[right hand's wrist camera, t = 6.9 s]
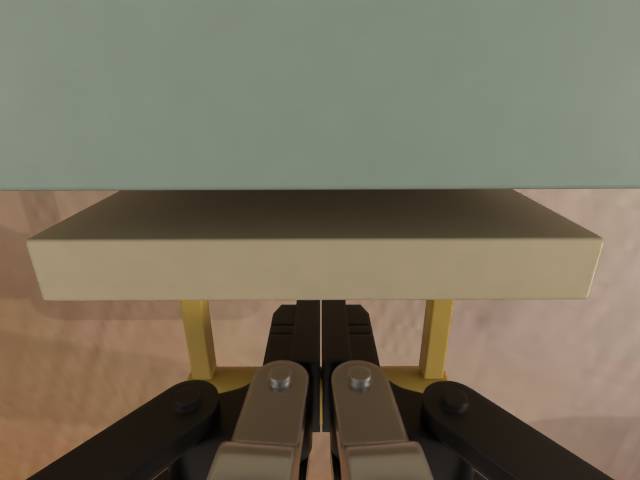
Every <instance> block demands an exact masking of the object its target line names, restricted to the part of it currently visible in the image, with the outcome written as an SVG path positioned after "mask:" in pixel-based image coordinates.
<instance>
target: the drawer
mask: <svg viewBox="0 0 640 480" xmlns="http://www.w3.org/2000/svg"><path fill="white" fill-rule="evenodd" d="M603 243H604V239H603V238H602V237H600V236H598V235H596V234H595V233H593V232H591V231H589V230H587V229H585V228H583V227H582V226H580V225H578V224H576V223H574V222H572V221H571V220H569V219H567V218H565V217H563V216H561V215H559V214H558V213H556V212H554V211H552V210H550V209H548V208H546V207H545V206H543V205H541V204H539V203H537V202H535V201H533V200H532V199H530V198H528V197H526V196H524V195H522V194H520V193H519V192H517V191H515V190H513V189H349V190H121V191H119V192H117V193H115V194H113V195H111V196H109V197H107V198H105V199H104V200H102V201H100V202H98V203H96V204H94V205H92V206H90V207H88V208H86V209H85V210H83V211H81V212H79V213H77V214H75V215H73V216H71V217H69V218H67V219H66V220H64V221H62V222H60V223H58V224H56V225H54V226H52V227H50V228H48V229H47V230H45V231H43V232H41V233H39V234H37V235H35V236H33V237H31V238H29V239H27V240H26V246H27V249H28V253H29V256H30V259H31V262H32V265H33V269H34V272H35V275H36V278H37V281H38V285H39V288H40V291H41V294H42V297H43V299H44V300H45V301H138V300H180V303H181V309H182V316H183V322H184V328H185V334H186V341H187V347H188V353H189V359H190V365H191V372H190V374H189V377H188V379H187V381H189V380H203V381H207V382H209V383H211V384H213V385H214V386H215V387H216V388H217V390H218V393H223V392H227V391H231V390H235V389H238V388H241V387H243V386H245V385H247V384H249V383H250V382H251V380H252V377H253V375H254V373H255V372H256V371H257V370H258V369H259V368H260V367H216V359H215V351H214V344H213V336H212V328H211V320H210V313H209V305H208V300H426V309H425V318H424V326H423V335H422V344H421V353H420V361H419V366H380V368H381V369H382V370H383V371H384V372H385V373H386V375H387V377H388V380H390V381H391V382H392V383H394V384H396V385H397V386H400V387H402V388H405V389H408V390H412V391H416V392H420V393H423V392H424V390H425V388H426V387H427V386H428V385H430V384H432V383H434V382H438V381H448V378H447V375H446V373H445V371H444V366H445V359H446V352H447V345H448V338H449V331H450V324H451V317H452V310H453V304H454V300H471V299H586V298H587V297H588V295H589V291H590V288H591V284H592V281H593V278H594V274H595V271H596V267H597V264H598V261H599V257H600V254H601V250H602V247H603ZM320 425H322V367H320Z"/></svg>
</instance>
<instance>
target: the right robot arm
mask: <svg viewBox="0 0 640 480" xmlns="http://www.w3.org/2000/svg"><path fill="white" fill-rule="evenodd" d="M312 432H320V300H297V304H296V305H281V306H280V307H279V308H278V309H277V310H276V311H275V313H274V314H273V318H272V323H271V328H270V334H269V338H268V342H267V347H266V352H265V357H264V362H263V366H262V367H260V368H259V369H258V370H257V371H256V372H255V373H254V375H253V377H252V380H251V382H250V383H249V384H247V385H245V386H243V387H241V388H238V389H235V390H231V391H227V392H223V393H218V390H217V388H216V387H215V386H214V385H213V384H211V383H209V382H207V381H203V380H189V381H185V382H181V383H179V384H176V385H174V386H172V387H171V388H169V389H168V390H166V391H164V392H163V393H161V394H160V395H158V396H157V397H155V398H153V399H152V400H150V401H149V402H147V403H146V404H144V405H142V406H141V407H139V408H138V409H136V410H135V411H133V412H131V413H130V414H128V415H127V416H125V417H124V418H122V419H120V420H119V421H117V422H116V423H114V424H113V425H111V426H109V427H108V428H106V429H105V430H103V431H102V432H100V433H98V434H97V435H95V436H94V437H92V438H91V439H89V440H87V441H86V442H84V443H83V444H81V445H80V446H78V447H76V448H75V449H73V450H72V451H70V452H69V453H67V454H65V455H64V456H62V457H61V458H59V459H58V460H56V461H54V462H53V463H51V464H50V465H48V466H47V467H45V468H44V469H42V470H40V471H39V472H37V473H36V474H34V475H33V476H31V477H29V478H28V479H26V480H152V479H153V478H155V477H156V476H157V475H158V474H160V473H161V472H162V471H163V470H165V469H166V468H167V469H166V470H165V471H163V472H162V473H161V474H160V475H158V476H157V477H156V478H155V479H153V480H308V472H309V463H310V452H311V449H312ZM322 432H330V463H331V472H332V480H487V479H488V480H614V479H612V478H611V477H609V476H607V475H606V474H604V473H603V472H601V471H600V470H598V469H597V468H595V467H593V466H592V465H590V464H589V463H587V462H586V461H584V460H582V459H581V458H579V457H578V456H576V455H575V454H573V453H571V452H570V451H568V450H567V449H565V448H564V447H562V446H560V445H559V444H557V443H556V442H554V441H553V440H551V439H549V438H548V437H546V436H545V435H543V434H542V433H540V432H538V431H537V430H535V429H534V428H532V427H531V426H529V425H527V424H526V423H524V422H523V421H521V420H520V419H518V418H516V417H515V416H513V415H512V414H510V413H509V412H507V411H505V410H504V409H502V408H501V407H499V406H498V405H496V404H494V403H493V402H491V401H490V400H488V399H487V398H485V397H483V396H482V395H480V394H479V393H477V392H476V391H474V390H473V389H471V388H469V387H467V386H465V385H463V384H460V383H457V382H453V381H438V382H434V383H432V384H430V385H428V386H427V387H426V388H425V390H424V392H423V393H420V392H416V391H412V390H408V389H405V388H402V387H400V386H397V385H396V384H394V383H392V382H391V381H390V380H388V377H387V375H386V373H385V372H384V371H383V370H382V369H381V368H380V365H379V360H378V355H377V351H376V346H375V341H374V337H373V332H372V327H371V323H370V318H369V313H368V312H367V311H366V310H365V309H364V308H363V307H362V306H361V305H346V303H345V300H322ZM475 470H477V471H478V472H479V473H480V474H482V475H483V476H484V477H485V478H487V479H485V478H484V477H483V476H482V475H480V474H479V473H478V472H477V471H475Z"/></svg>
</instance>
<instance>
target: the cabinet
mask: <svg viewBox="0 0 640 480" xmlns="http://www.w3.org/2000/svg"><path fill="white" fill-rule="evenodd" d="M634 188H640V0H0V191H63V190H349V189H634Z"/></svg>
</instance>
